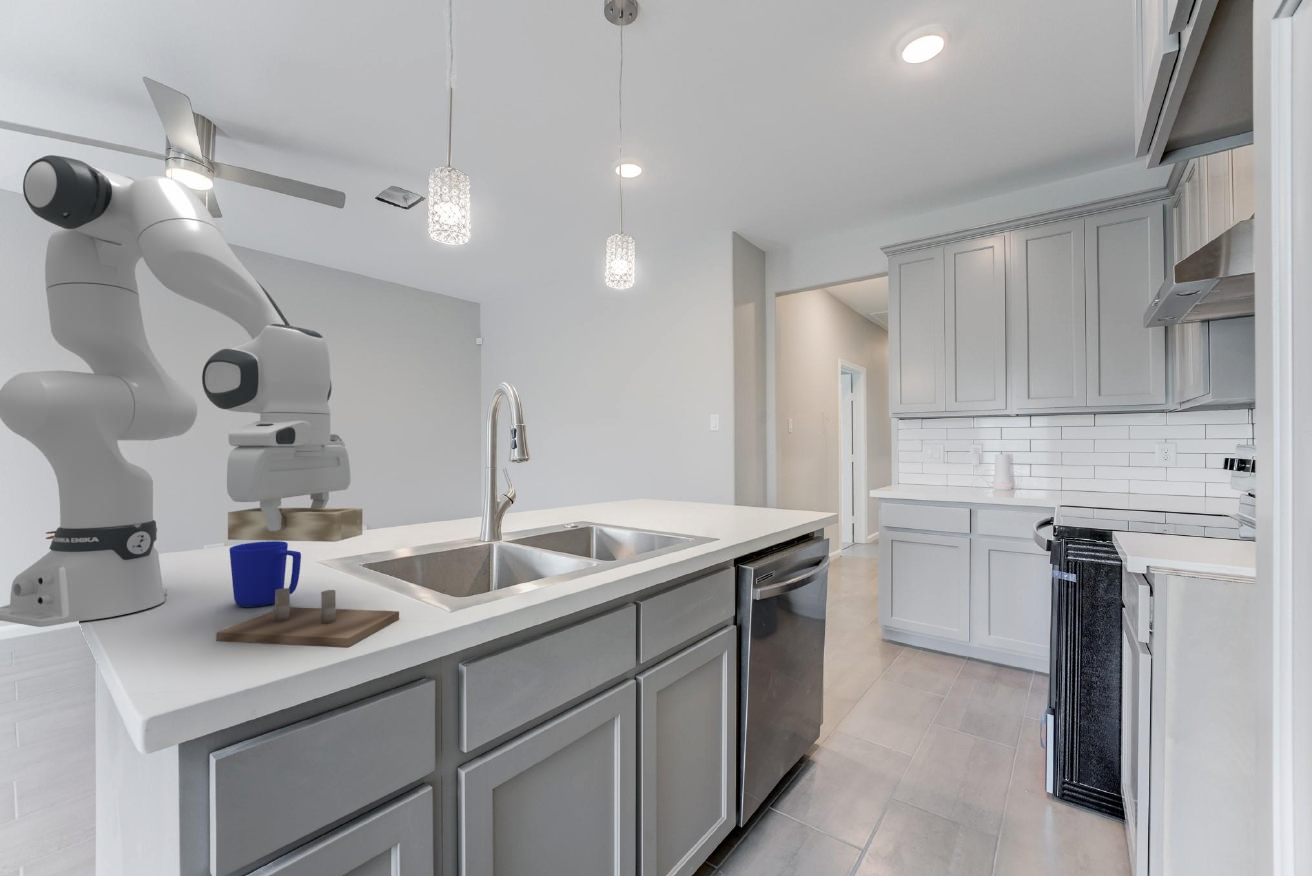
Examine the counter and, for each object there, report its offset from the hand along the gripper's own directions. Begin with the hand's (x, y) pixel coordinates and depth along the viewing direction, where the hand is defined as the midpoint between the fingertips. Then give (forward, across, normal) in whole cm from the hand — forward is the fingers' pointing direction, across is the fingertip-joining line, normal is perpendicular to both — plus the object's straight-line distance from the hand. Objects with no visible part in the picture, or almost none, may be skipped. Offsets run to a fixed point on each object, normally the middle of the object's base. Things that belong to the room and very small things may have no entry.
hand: (296, 526), depth 84 cm
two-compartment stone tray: (+2, 0, 0) cm, 2 cm away
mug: (+15, -11, -14) cm, 24 cm away
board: (+15, 0, +3) cm, 16 cm away
